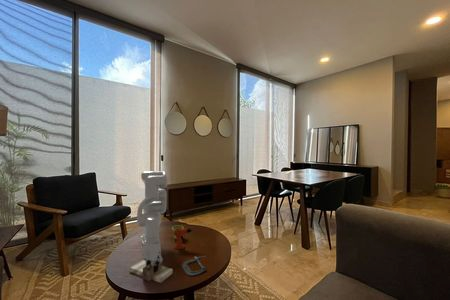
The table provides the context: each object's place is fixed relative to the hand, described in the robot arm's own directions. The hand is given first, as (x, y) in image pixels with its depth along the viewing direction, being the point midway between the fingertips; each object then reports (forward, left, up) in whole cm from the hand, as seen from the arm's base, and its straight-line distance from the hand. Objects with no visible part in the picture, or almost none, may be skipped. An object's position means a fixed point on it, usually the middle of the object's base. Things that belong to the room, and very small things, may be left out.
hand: (152, 269), depth 126 cm
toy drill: (-4, +38, -4) cm, 39 cm away
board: (-3, +2, -4) cm, 6 cm away
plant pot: (-20, +49, -4) cm, 54 cm away
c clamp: (+17, +21, -5) cm, 27 cm away
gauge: (0, 0, -3) cm, 3 cm away
